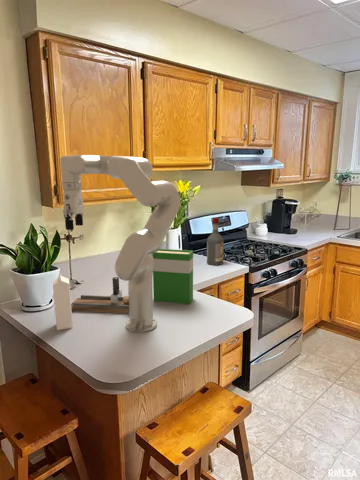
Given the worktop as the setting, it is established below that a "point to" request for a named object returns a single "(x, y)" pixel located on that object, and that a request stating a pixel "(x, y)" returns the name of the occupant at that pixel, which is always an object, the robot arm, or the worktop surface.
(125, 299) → the walnut
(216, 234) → the liquor
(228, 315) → the worktop surface
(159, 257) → the hardback book
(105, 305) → the press base
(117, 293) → the press jaw
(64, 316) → the milk
